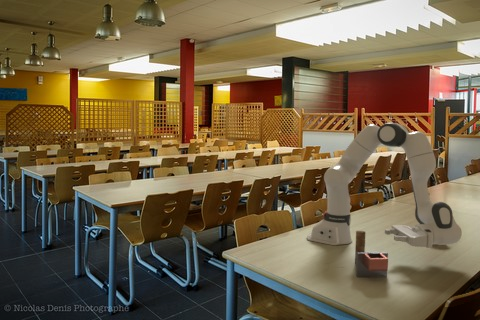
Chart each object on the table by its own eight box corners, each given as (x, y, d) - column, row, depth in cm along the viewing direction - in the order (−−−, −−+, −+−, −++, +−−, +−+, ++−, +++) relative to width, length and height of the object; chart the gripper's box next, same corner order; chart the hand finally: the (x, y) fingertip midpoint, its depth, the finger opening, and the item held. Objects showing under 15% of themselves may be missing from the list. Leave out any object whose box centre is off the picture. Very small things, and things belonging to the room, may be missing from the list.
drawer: (385, 275, 156) (386, 252, 155) (393, 283, 148) (394, 258, 147) (355, 275, 155) (356, 252, 155) (362, 283, 148) (363, 259, 147)
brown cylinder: (354, 264, 167) (355, 232, 166) (355, 261, 171) (356, 230, 169) (363, 265, 166) (364, 233, 164) (364, 262, 169) (366, 231, 168)
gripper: (410, 221, 178) (380, 221, 177) (434, 233, 158) (400, 234, 157) (410, 235, 178) (380, 235, 178) (433, 249, 158) (400, 249, 158)
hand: (389, 235), depth 167 cm, fingers open, 8 cm apart
